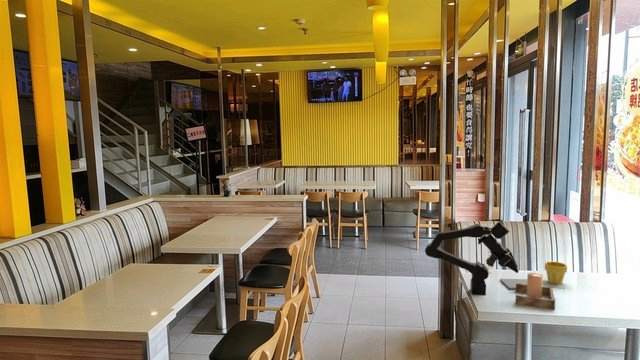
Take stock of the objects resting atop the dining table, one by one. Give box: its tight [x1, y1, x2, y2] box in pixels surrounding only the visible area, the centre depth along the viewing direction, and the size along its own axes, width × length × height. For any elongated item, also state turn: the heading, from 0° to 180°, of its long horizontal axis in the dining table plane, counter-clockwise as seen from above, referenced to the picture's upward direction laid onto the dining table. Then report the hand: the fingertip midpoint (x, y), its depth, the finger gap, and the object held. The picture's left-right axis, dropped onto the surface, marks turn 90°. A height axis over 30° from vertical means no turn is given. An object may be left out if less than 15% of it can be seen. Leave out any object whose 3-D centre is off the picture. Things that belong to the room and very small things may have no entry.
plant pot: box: [544, 261, 568, 285], centre depth 227 cm, size 10×10×10 cm
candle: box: [526, 272, 544, 298], centre depth 203 cm, size 6×6×12 cm
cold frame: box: [514, 283, 556, 310], centre depth 204 cm, size 16×19×4 cm
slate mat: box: [499, 278, 527, 291], centre depth 224 cm, size 14×14×1 cm
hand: (517, 270), depth 206 cm, fingers open, 9 cm apart
